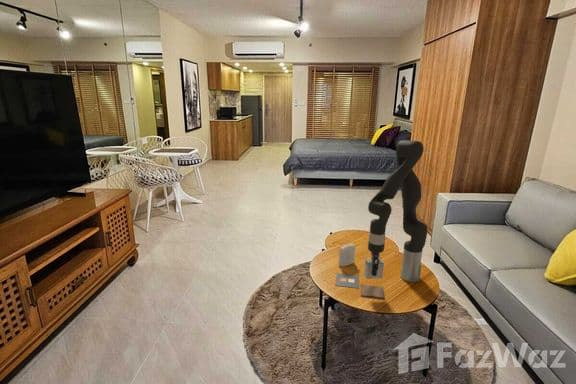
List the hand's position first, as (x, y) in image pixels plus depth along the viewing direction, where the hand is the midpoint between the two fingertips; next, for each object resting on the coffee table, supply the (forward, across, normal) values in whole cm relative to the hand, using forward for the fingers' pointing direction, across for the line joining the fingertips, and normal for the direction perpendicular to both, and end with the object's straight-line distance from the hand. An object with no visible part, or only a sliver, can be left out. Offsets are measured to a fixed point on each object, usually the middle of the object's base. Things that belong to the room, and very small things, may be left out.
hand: (373, 272), depth 153 cm
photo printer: (+12, +26, +13) cm, 31 cm away
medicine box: (+3, 0, 0) cm, 3 cm away
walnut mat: (+11, 0, 0) cm, 11 cm away
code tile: (+11, +8, +12) cm, 19 cm away
